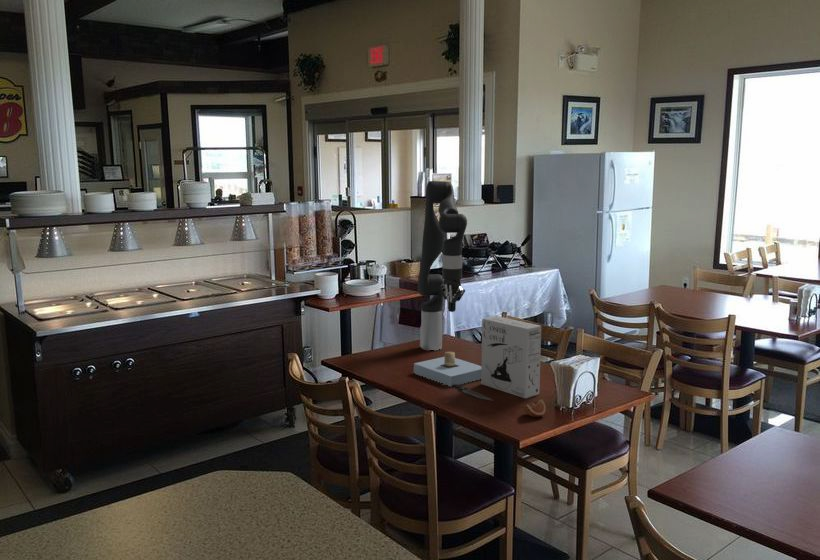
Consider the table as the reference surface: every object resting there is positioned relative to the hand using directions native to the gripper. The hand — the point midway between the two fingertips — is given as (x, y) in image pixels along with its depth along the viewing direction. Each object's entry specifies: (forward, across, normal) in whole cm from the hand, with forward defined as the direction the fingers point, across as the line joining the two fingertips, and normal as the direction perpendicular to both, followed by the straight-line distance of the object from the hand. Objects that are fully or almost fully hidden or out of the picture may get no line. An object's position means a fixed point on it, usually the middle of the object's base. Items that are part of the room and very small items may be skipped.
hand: (451, 311), depth 266 cm
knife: (+25, -20, +10) cm, 34 cm away
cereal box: (+25, -27, -5) cm, 37 cm away
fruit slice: (+25, -51, +9) cm, 57 cm away
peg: (+25, -1, +2) cm, 25 cm away
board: (+25, -1, +2) cm, 25 cm away
